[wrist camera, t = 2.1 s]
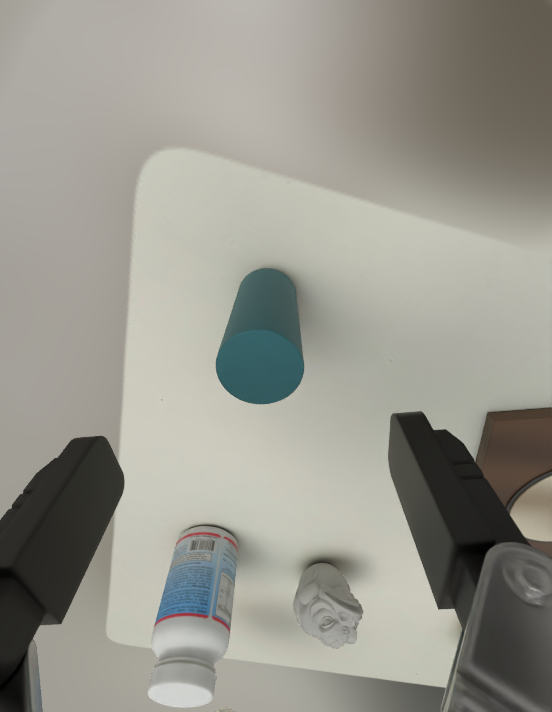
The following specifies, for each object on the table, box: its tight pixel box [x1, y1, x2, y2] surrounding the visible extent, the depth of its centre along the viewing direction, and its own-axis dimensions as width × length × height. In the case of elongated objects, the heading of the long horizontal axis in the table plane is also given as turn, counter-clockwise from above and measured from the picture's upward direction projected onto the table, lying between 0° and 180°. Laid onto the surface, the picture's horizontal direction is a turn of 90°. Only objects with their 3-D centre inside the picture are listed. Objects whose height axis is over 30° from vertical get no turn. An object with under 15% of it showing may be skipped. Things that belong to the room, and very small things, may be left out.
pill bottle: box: [148, 526, 238, 707], centre depth 29 cm, size 6×6×11 cm
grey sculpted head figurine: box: [293, 563, 363, 649], centre depth 33 cm, size 6×7×7 cm
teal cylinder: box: [216, 268, 304, 404], centre depth 17 cm, size 3×3×9 cm
